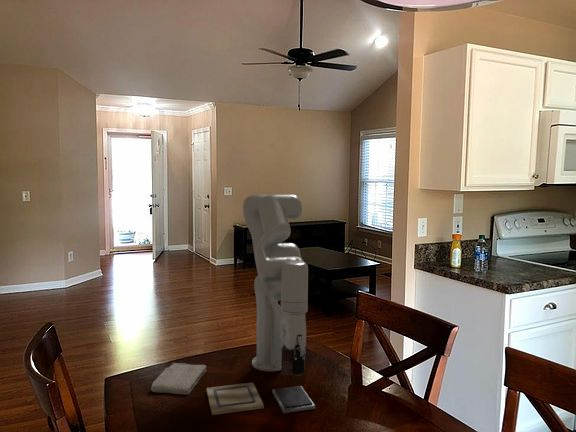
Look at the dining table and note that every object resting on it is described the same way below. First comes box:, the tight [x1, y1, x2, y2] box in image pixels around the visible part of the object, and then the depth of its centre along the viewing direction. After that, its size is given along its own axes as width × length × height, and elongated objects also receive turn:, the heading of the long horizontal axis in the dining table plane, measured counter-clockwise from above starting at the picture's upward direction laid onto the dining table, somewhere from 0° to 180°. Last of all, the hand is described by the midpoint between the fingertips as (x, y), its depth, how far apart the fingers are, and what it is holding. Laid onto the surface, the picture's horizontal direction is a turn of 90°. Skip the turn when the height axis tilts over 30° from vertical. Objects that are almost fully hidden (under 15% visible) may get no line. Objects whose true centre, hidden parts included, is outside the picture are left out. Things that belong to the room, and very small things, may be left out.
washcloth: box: [150, 362, 207, 396], centre depth 139 cm, size 12×18×3 cm, turn 173°
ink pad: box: [271, 385, 316, 414], centre depth 128 cm, size 12×9×1 cm
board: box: [206, 382, 265, 416], centre depth 128 cm, size 14×14×1 cm
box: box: [280, 345, 306, 377], centre depth 127 cm, size 6×6×7 cm
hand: (293, 366), depth 127 cm, fingers closed on box, 8 cm apart
